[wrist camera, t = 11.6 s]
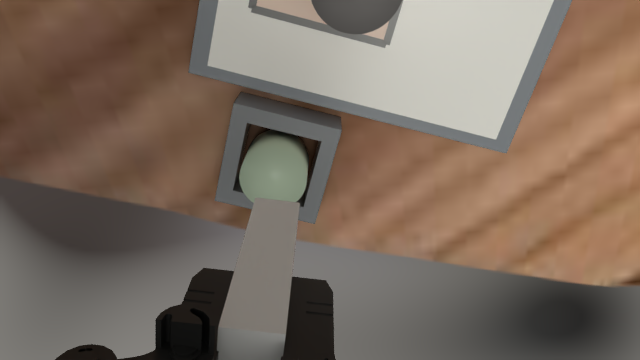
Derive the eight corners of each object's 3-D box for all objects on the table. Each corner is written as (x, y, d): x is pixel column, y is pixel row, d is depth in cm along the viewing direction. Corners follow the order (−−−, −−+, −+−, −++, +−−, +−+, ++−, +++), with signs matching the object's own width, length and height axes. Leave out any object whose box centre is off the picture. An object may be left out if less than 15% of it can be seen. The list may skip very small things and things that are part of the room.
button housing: (222, 183, 33) (214, 200, 30) (240, 91, 30) (233, 103, 28) (315, 205, 33) (314, 224, 31) (340, 116, 31) (341, 130, 29)
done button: (242, 178, 31) (233, 201, 28) (253, 122, 30) (246, 140, 27) (300, 192, 32) (298, 216, 29) (315, 138, 30) (314, 156, 27)
